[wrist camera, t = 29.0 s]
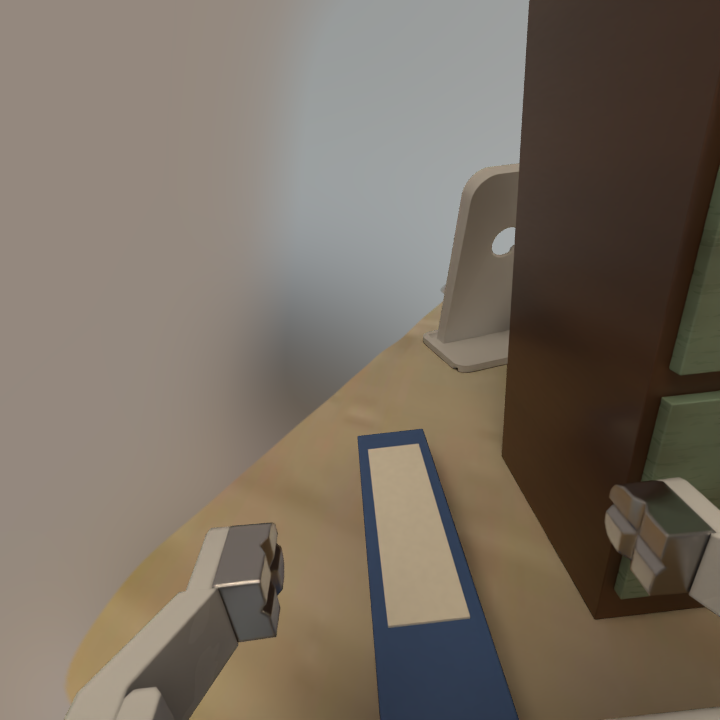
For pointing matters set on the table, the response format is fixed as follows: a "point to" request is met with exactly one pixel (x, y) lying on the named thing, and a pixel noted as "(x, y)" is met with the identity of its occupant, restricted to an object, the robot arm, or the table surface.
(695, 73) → the drawer stand
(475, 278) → the phone holder
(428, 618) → the case
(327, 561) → the table surface
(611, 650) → the table surface
